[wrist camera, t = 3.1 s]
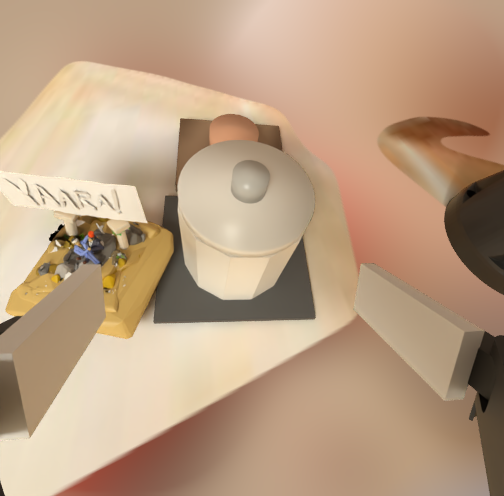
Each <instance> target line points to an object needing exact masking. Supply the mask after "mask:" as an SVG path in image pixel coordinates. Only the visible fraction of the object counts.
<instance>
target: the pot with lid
mask: <svg viewBox="0 0 504 496" xmlns="http://www.w3.org/2000/svg"><path fill="white" fill-rule="evenodd" d="M177 189H178V217H179V225H180V232H181V239H182V247H183V254H184V261H185V265H186V267H187V269H188V270H189V272H190V274H191V275H192V277H193V279H194V280H195V282H196V284H197V285H198V287H200V288H202V289H204V290H206V291H207V292H209V293H211V294H213V295H215V296H217V297H219V298H220V299H222V300H250V299H253V298H255V297H256V296H258V295H260V294H261V293H263V292H265V291H266V290H268V289H270V288H271V287H273V286H274V285H275V283H276V281H277V279H278V278H279V276H280V274H281V273H282V271H283V269H284V267H285V266H286V264H287V262H288V261H289V259H290V257H291V255H292V254H293V252H294V250H295V249H296V247H297V245H298V243H299V242H300V240H301V238H302V236H303V234H304V232H305V230H306V227H307V226H308V224H309V222H310V221H311V218H312V216H313V213H314V208H315V194H314V189H313V186H312V183H311V181H310V179H309V177H308V175H307V174H306V172H305V171H304V170H303V168H302V167H301V166H300V165H299V164H298V163H297V162H296V161H295V160H294V159H292V158H291V157H290V156H289V155H287V154H286V153H284V152H282V151H280V150H279V149H277V148H274V147H272V146H270V145H267V144H263V143H260V142H255V141H248V140H229V141H223V142H219V143H215V144H212V145H210V146H207V147H205V148H204V149H202V150H200V151H199V152H197V153H196V154H194V155H193V156H192V157H191V158H190V159H189V160H188V162H187V163H186V164H185V166H184V167H183V169H182V171H181V173H180V176H179V180H178V186H177Z"/></svg>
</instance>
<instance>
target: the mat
mask: <svg viewBox="0 0 504 496" xmlns="http://www.w3.org/2000/svg"><path fill="white" fill-rule="evenodd" d="M163 228H165V229H167V230H168V231H170V232H171V233H172V234H173V243H174V252H173V254H172V256H171V258H170V260H169V262H168V264H167V266H166V268H165V270H164V272H163V274H162V277H161V279H160V281H159V283H158V285H157V290H156V301H155V311H154V323H193V322H231V321H269V320H307V319H315V318H316V317H315V311H314V305H313V299H312V293H311V287H310V281H309V275H308V268H307V262H306V256H305V250H304V244H303V238H301V240H300V242H299V243H298V245H297V247H296V249H295V250H294V252H293V254H292V255H291V257H290V259H289V261H288V262H287V264H286V266H285V267H284V269H283V271H282V273H281V274H280V276H279V278H278V279H277V281H276V283H275V285H274V286H273V287H271V288H270V289H268V290H266V291H265V292H263V293H261V294H260V295H258V296H256V297H255V298H253V299H250V300H222V299H220V298H219V297H217V296H215V295H213V294H211V293H209V292H207V291H206V290H204V289H202V288H200V287H198V285H197V284H196V282H195V280H194V279H193V277H192V275H191V274H190V272H189V270H188V269H187V267H186V265H185V261H184V254H183V247H182V239H181V232H180V225H179V217H178V196H165V206H164V217H163Z"/></svg>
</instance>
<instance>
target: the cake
mask: <svg viewBox="0 0 504 496" xmlns="http://www.w3.org/2000/svg"><path fill="white" fill-rule="evenodd" d="M0 191H1V192H2V193H3V194H4V195H5V196H6V198H7V199H8V200H9V201H10V202H11V203H12V205H15V206H22V207H24V206H26V207H32V208H37V209H40V208H43V209H50V210H53V211H55V212H54V217H55V218H58V219H61V220H64V224H59V227H58V228H57V229H56V231H54V233H53V234H50V235H51V236H50V238H49V242H50V244H48V248H47V250H46V251H45V253H44V254H43V255H42V257H41V258H40V260H39V261H38V262H37V264H36V265H35V267H34V268H33V270H32V271H31V272H30V274H29V275H28V277H27V278H26V280H25V281H24V283H22V284H21V285H20V286H18V287H17V289H15V290H14V291H13V292H12V293H11V296H10V299H9V301H8V304H7V307H6V312H7V313H8V314H10V315H12V316H23V315H25V314H26V313H27V312H28V311H29V310H30V309H32V308H33V307H34V306H35V305H36V304H37V303H39V302H40V301H41V300H42V299H43V298H44V297H46V296H47V295H48V294H49V293H50V292H51V291H53V290H54V289H55V288H56V287H57V286H58V285H60V284H61V283H62V282H63V281H64V280H65V279H67V278H68V277H69V276H70V275H71V274H72V273H74V272H75V271H76V270H77V269H78V268H79V267H81V266H82V265H83V264H101V273H102V283H103V293H104V303H105V313H106V318H105V319H104V321H103V323H102V324H101V326H100V327H99V329H98V330H97V332H96V333H100V334H105V335H110V336H115V337H120V338H125V339H128V338H130V337H132V336H133V334H134V332H135V330H136V328H137V326H138V324H139V322H140V319H141V317H142V315H143V313H144V311H145V309H146V307H147V305H148V303H149V301H150V299H151V297H152V295H153V293H154V291H155V289H156V287H157V285H158V283H159V281H160V279H161V277H162V274H163V272H164V270H165V268H166V266H167V264H168V262H169V260H170V258H171V256H172V254H173V252H174V243H173V234H172V233H171V232H170V231H168V230H167V229H165V228H163V227H161V226H159V225H157V224H155V223H152V222H149V221H147V220H146V217H145V214H144V211H143V208H142V205H141V202H140V199H139V196H138V193H137V190H136V187H135V186H129V185H116V184H104V183H98V182H92V181H83V180H75V179H69V178H64V177H44V176H37V175H29V174H21V173H13V172H5V171H0Z"/></svg>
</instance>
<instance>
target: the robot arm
mask: <svg viewBox="0 0 504 496" xmlns="http://www.w3.org/2000/svg"><path fill="white" fill-rule="evenodd" d="M444 222H445V229H446V232H447V236H448V238H449V241H450V243H451V245H452V247H453V249H454V250H455V252H456V253H457V255H458V256H459V258H460V259H461V261H462V262H463V263H464V264H465V265H466V267H467V268H468V269H469V270H470V271H471V272H472V273H473V274H474V275H476V276H477V277H478V278H479V279H480V280H481V281H483V282H484V283H485V284H487V285H488V286H489V287H491V288H492V289H494V290H496V291H497V292H499V293H501V294H503V295H504V170H503V171H501V172H498V173H496V174H494V175H491V176H489V177H486V178H484V179H482V180H479V181H477V182H474V183H472V184H471V185H469V186H467V187H466V188H465V189H463V190H462V191H461V192H460V193H458V194H457V195H456V196H455V197H454V198H453V199H452V200H451V201H450V202H449V204H448V205H447V207H446V211H445V218H444ZM354 310H355V311H356V312H357V313H358V314H359V315H360V316H361V317H362V318H363V319H364V320H365V321H366V322H367V323H368V324H369V325H370V326H371V327H372V328H373V329H374V330H375V331H376V332H377V334H379V336H380V337H381V338H382V339H383V340H384V341H385V342H386V343H388V344H389V346H391V348H392V349H394V351H395V352H396V353H398V355H399V356H401V357H402V358H403V360H405V362H406V363H407V364H408V365H409V366H410V367H411V368H413V370H414V371H415V372H416V373H417V374H418V375H419V376H420V377H421V378H422V379H423V380H424V381H425V382H426V383H427V384H428V385H430V387H432V389H434V391H435V392H436V393H437V394H438V395H439V396H440V397H441V398H442V399H443V400H444V401H447V400H458V399H464V396H465V393H466V390H467V387H468V384H469V385H470V386H472V387H473V388H474V389H475V390H476V391H477V395H476V398H475V401H474V404H473V407H472V410H471V413H470V416H469V419H470V420H473V418H474V417H475V416H477V420H478V426H479V432H480V438H481V444H482V449H483V455H484V461H485V468H486V473H487V479H488V485H489V491H490V496H504V336H502V335H499V336H496V337H494V336H492V335H490V334H489V333H487V332H486V331H484V330H483V329H481V328H479V327H478V326H476V325H474V324H473V323H471V322H470V321H468V320H466V319H465V318H463V317H461V316H460V315H458V314H456V313H455V312H453V311H451V310H450V309H448V308H447V307H445V306H443V305H442V304H440V303H438V302H437V301H435V300H433V299H432V298H430V297H428V296H427V295H425V294H423V293H422V292H420V291H419V290H417V289H415V288H414V287H412V286H410V285H409V284H407V283H405V282H404V281H402V280H401V279H399V278H397V277H395V276H394V275H392V274H391V273H389V272H387V271H386V270H384V269H382V268H381V267H379V266H377V265H376V264H374V263H371V264H370V263H368V264H367V263H365V264H364V263H362V264H361V267H360V273H359V279H358V285H357V291H356V297H355V303H354ZM105 318H106V313H105V303H104V293H103V283H102V273H101V264H83V265H82V266H81V267H79V268H78V269H77V270H76V271H75V272H74V273H72V274H71V275H70V276H69V277H68V278H67V279H65V280H64V281H63V282H62V283H61V284H60V285H58V286H57V287H56V288H55V289H54V290H53V291H51V292H50V293H49V294H48V295H47V296H46V297H44V298H43V299H42V300H41V301H40V302H39V303H37V304H36V305H35V306H34V307H33V308H32V309H30V310H29V311H28V312H27V313H26V314H25V315H23V316H15V317H13V318H11V319H9V320H7V321H5V322H3V323H1V324H0V441H5V440H16V439H27V438H30V437H31V435H32V434H33V432H34V431H35V429H36V427H37V426H38V424H39V423H40V421H41V420H42V418H43V416H44V415H45V413H46V412H47V410H48V408H49V407H50V405H51V404H52V402H53V400H54V399H55V397H56V396H57V394H58V392H59V391H60V389H61V388H62V386H63V385H64V383H65V381H66V380H67V378H68V377H69V375H70V373H71V372H72V370H73V369H74V367H75V365H76V364H77V362H78V361H79V359H80V358H81V356H82V354H83V353H84V351H85V350H86V348H87V346H88V345H89V343H90V342H91V340H92V338H93V337H94V335H95V334H96V332H97V330H98V329H99V327H100V326H101V324H102V323H103V321H104V319H105ZM0 496H5V495H4V492H3V489H2V485H1V482H0Z"/></svg>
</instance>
